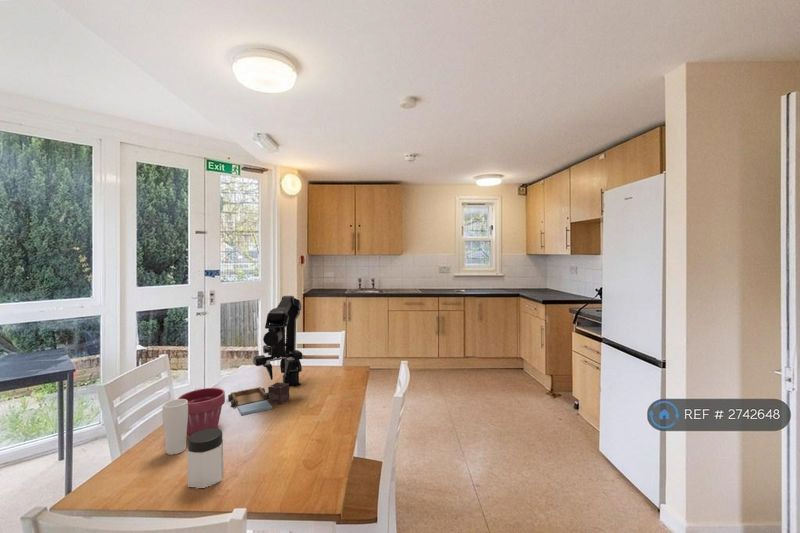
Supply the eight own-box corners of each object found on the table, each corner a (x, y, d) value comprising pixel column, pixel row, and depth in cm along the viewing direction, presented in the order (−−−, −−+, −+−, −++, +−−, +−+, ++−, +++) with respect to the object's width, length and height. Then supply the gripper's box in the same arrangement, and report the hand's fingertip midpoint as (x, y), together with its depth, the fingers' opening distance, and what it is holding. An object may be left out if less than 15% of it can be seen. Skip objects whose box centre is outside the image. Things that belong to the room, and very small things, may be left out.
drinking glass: (193, 446, 115) (192, 398, 115) (178, 457, 108) (177, 407, 108) (173, 445, 116) (172, 398, 116) (157, 456, 109) (156, 406, 109)
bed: (263, 393, 161) (262, 386, 161) (270, 402, 151) (270, 394, 151) (227, 400, 153) (227, 393, 153) (233, 410, 143) (232, 402, 143)
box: (289, 400, 152) (289, 383, 152) (280, 406, 146) (280, 388, 146) (277, 399, 154) (277, 382, 154) (268, 404, 148) (267, 386, 148)
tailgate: (266, 402, 150) (266, 400, 150) (271, 408, 142) (271, 406, 142) (237, 408, 144) (237, 406, 144) (241, 415, 136) (241, 412, 136)
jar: (216, 466, 103) (216, 424, 103) (230, 477, 98) (229, 433, 98) (181, 481, 96) (181, 436, 96) (194, 494, 91) (193, 446, 91)
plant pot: (176, 446, 115) (175, 405, 115) (179, 428, 128) (178, 391, 128) (226, 435, 122) (225, 397, 122) (224, 419, 134) (224, 385, 134)
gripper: (294, 334, 162) (294, 369, 162) (249, 340, 151) (250, 377, 151) (302, 339, 152) (303, 376, 153) (256, 345, 142) (256, 385, 142)
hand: (278, 378), depth 150 cm, fingers open, 5 cm apart
